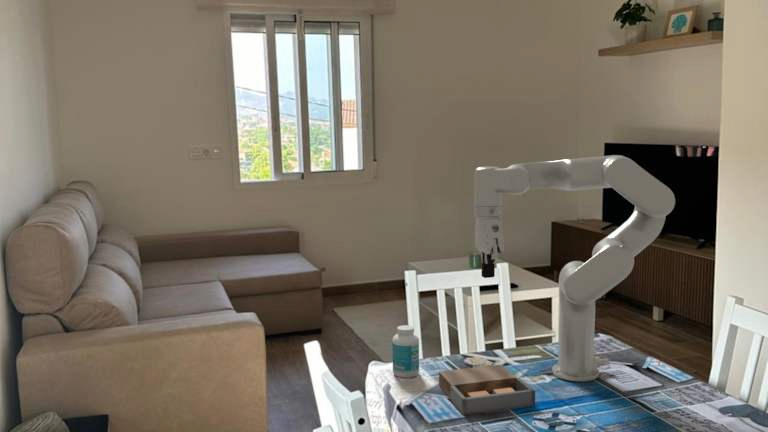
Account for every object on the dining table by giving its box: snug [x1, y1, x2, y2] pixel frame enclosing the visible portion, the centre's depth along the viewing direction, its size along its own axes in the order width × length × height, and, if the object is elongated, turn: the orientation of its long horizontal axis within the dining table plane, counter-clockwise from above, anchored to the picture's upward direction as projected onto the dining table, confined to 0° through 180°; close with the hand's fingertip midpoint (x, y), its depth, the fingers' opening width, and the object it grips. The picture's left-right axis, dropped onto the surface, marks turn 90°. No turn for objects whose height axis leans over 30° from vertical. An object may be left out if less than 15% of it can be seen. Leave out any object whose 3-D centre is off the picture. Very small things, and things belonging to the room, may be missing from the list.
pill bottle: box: [392, 324, 420, 379], centre depth 194 cm, size 8×7×14 cm
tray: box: [449, 377, 536, 416], centre depth 174 cm, size 19×9×4 cm, turn 105°
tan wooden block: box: [438, 364, 518, 399], centre depth 183 cm, size 18×10×4 cm, turn 105°
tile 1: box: [467, 391, 490, 397], centre depth 173 cm, size 5×5×2 cm
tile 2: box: [493, 388, 515, 394], centre depth 175 cm, size 5×5×2 cm
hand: (488, 276), depth 193 cm, fingers closed
